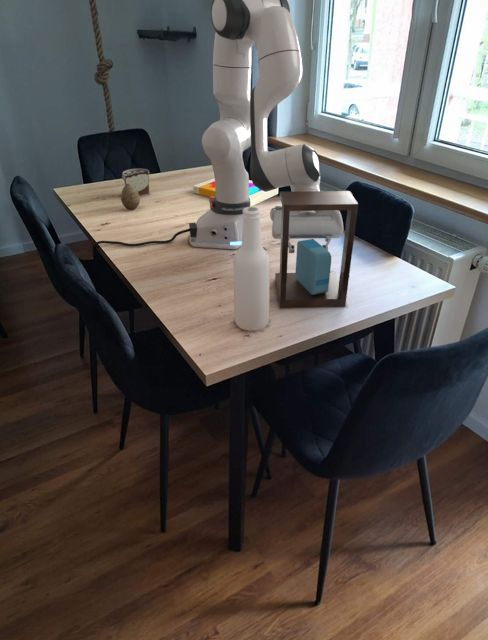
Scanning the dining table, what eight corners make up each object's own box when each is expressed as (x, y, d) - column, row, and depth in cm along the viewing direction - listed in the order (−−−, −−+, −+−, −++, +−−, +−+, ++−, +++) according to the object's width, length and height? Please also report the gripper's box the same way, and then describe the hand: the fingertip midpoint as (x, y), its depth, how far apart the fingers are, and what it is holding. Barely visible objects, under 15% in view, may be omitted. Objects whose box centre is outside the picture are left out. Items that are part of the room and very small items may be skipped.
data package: (328, 294, 133) (332, 254, 126) (313, 297, 132) (316, 256, 125) (308, 275, 142) (311, 237, 135) (294, 278, 141) (297, 239, 134)
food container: (144, 189, 212) (141, 166, 207) (152, 193, 209) (149, 169, 203) (119, 195, 206) (115, 171, 200) (127, 199, 202) (123, 175, 196)
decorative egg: (118, 210, 192) (114, 184, 186) (132, 205, 197) (128, 180, 191) (131, 213, 189) (127, 187, 183) (144, 208, 193) (141, 183, 188)
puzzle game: (224, 181, 224) (179, 198, 204) (223, 174, 222) (179, 191, 202) (278, 193, 210) (236, 213, 190) (278, 186, 208) (236, 205, 188)
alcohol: (230, 329, 123) (227, 214, 105) (239, 312, 130) (237, 201, 112) (264, 333, 121) (266, 218, 104) (271, 315, 128) (274, 204, 111)
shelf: (279, 308, 132) (283, 204, 115) (275, 280, 145) (277, 184, 128) (345, 306, 133) (358, 204, 116) (334, 279, 146) (345, 183, 129)
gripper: (270, 201, 134) (272, 248, 132) (343, 200, 136) (346, 247, 134) (269, 211, 141) (270, 256, 139) (338, 210, 142) (341, 255, 140)
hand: (308, 252), depth 136 cm, fingers open, 8 cm apart
